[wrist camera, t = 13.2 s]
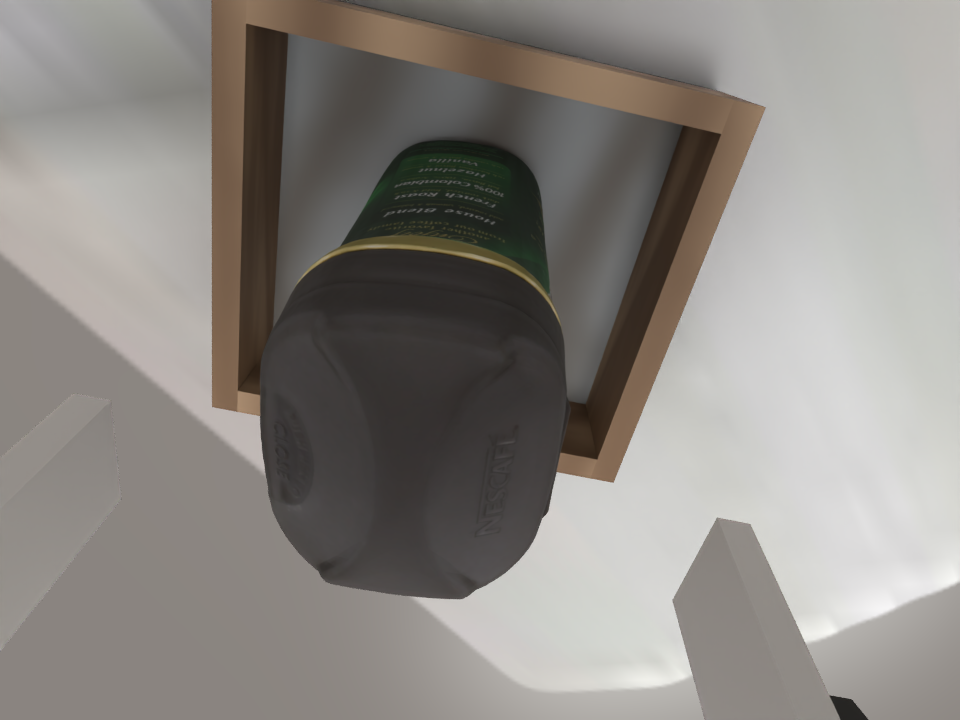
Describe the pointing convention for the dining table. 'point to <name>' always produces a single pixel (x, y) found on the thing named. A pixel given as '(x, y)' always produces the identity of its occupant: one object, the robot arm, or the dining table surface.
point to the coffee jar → (420, 382)
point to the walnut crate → (477, 119)
